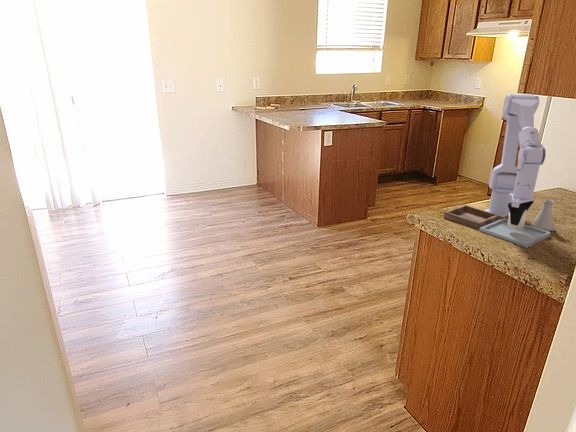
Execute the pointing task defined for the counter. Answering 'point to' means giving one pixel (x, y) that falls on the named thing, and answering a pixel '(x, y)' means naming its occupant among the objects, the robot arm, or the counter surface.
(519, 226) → the cream cylinder
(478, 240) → the counter surface
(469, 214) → the brown square tray
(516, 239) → the slate tray
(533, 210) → the counter surface
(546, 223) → the flask
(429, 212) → the counter surface
